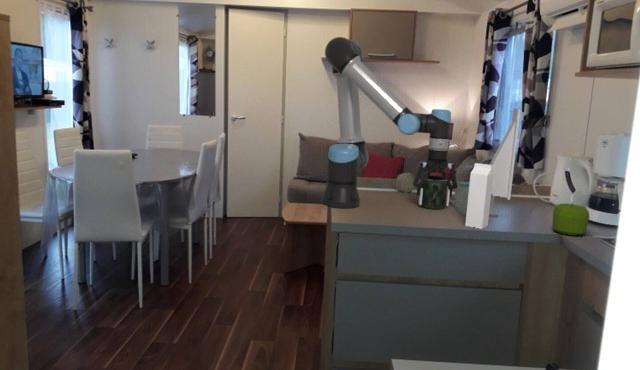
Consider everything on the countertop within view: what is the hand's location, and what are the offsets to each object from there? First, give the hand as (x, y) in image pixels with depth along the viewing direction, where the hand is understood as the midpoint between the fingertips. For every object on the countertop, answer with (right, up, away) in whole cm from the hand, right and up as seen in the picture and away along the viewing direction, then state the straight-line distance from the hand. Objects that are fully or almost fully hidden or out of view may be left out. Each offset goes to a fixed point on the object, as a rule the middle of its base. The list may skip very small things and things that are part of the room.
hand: (433, 204), depth 211 cm
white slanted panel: (+35, +3, +37) cm, 51 cm away
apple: (+40, -9, -29) cm, 50 cm away
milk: (+10, -7, -26) cm, 28 cm away
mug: (0, -1, 0) cm, 2 cm away
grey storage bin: (+16, -2, +1) cm, 16 cm away
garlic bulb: (-7, +5, +31) cm, 32 cm away
